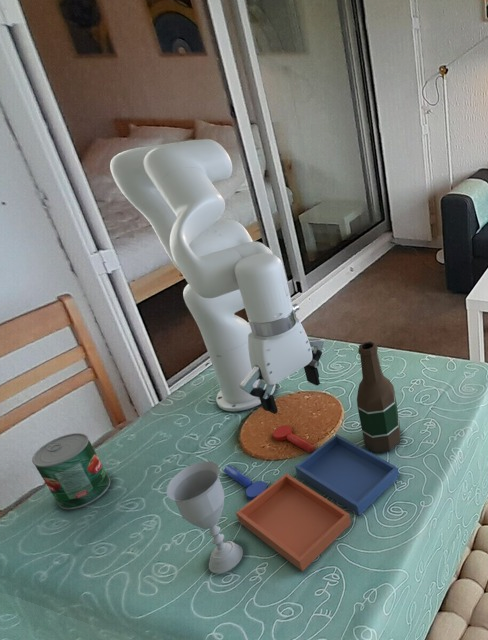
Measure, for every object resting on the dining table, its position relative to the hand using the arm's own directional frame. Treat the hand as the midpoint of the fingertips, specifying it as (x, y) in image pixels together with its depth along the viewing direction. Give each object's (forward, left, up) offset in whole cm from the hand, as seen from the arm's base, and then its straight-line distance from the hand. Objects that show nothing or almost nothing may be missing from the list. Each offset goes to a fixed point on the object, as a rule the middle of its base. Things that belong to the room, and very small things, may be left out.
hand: (293, 396), depth 98 cm
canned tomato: (-27, -29, -14) cm, 42 cm away
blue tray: (+13, -1, -14) cm, 19 cm away
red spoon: (-4, 0, -14) cm, 14 cm away
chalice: (+9, -23, -14) cm, 28 cm away
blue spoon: (-2, -12, -14) cm, 18 cm away
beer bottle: (+12, +10, -14) cm, 21 cm away
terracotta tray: (+13, -13, -14) cm, 23 cm away
